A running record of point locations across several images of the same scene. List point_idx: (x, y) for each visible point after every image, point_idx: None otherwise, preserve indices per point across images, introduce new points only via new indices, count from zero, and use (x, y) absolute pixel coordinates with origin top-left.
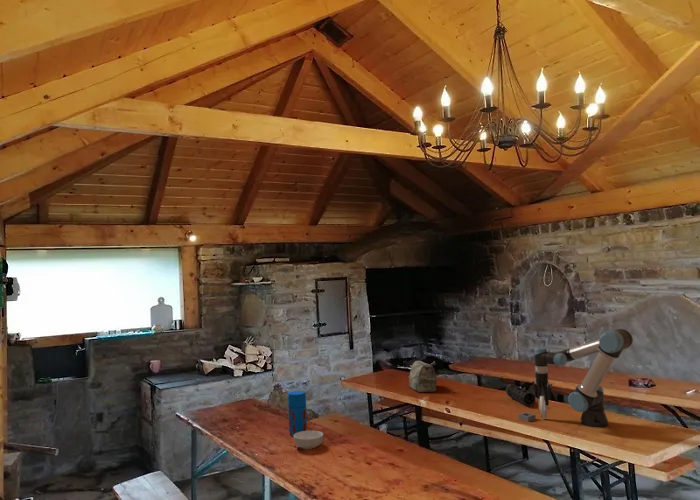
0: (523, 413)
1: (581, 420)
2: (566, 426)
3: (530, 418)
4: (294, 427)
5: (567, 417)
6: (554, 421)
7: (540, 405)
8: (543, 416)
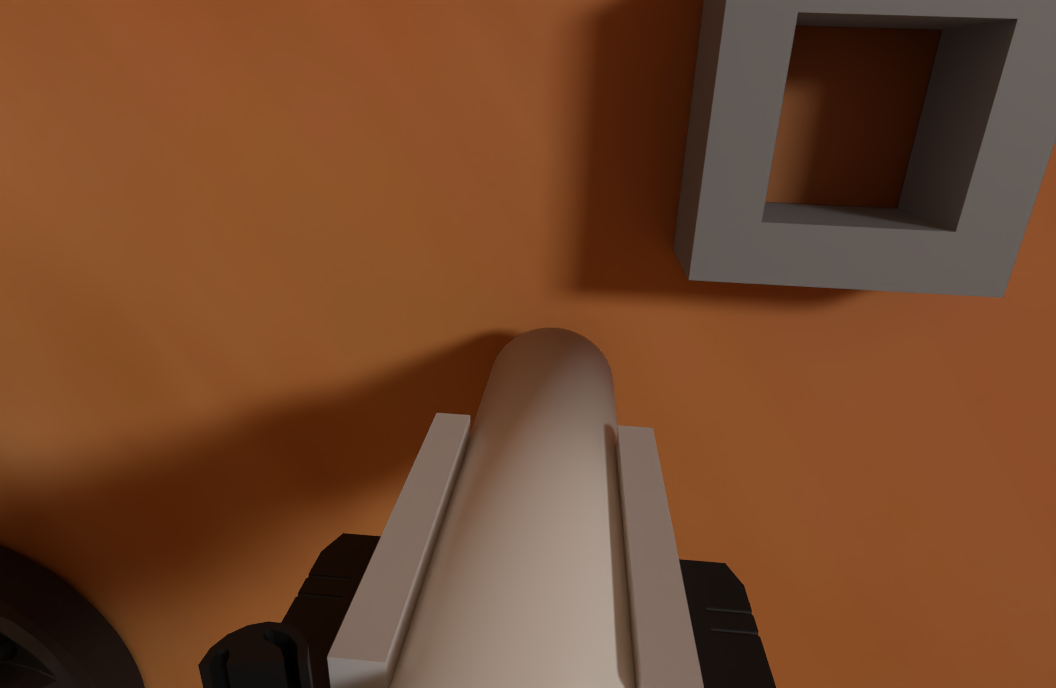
0: (1009, 144)
1: (10, 600)
2: (25, 280)
3: (707, 59)
4: None
5: None
6: (352, 390)
7: (586, 490)
8: (517, 344)
